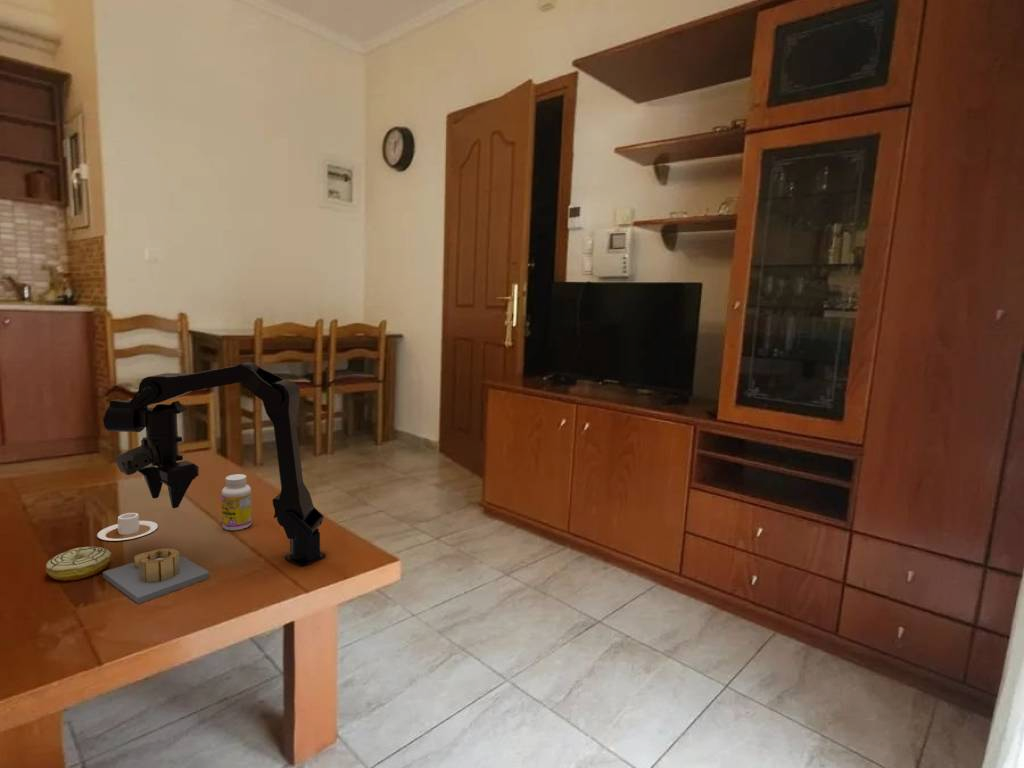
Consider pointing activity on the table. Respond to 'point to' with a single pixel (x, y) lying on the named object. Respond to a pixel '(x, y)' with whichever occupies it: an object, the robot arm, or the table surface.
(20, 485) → the table surface
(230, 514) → the supplement bottle
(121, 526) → the candle holder
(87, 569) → the decorated donut
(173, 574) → the octagonal wooden tube
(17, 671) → the table surface
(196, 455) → the table surface
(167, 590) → the carrier board
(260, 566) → the table surface
